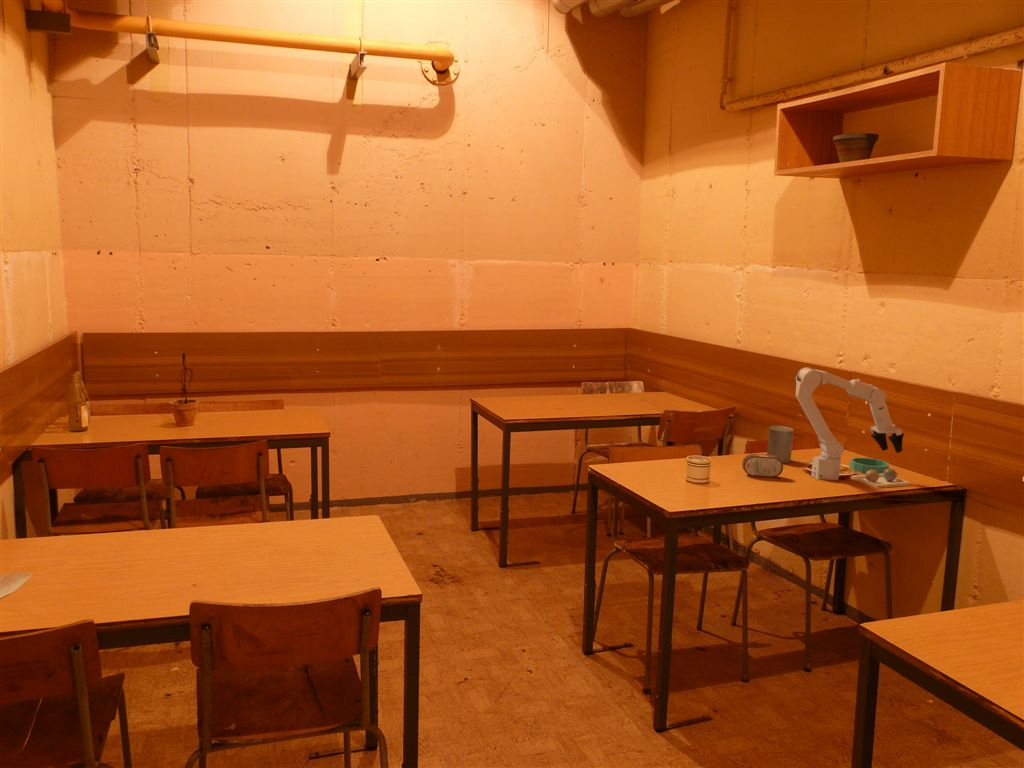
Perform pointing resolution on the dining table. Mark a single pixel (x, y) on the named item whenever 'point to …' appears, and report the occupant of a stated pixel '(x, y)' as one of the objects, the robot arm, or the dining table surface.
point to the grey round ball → (889, 474)
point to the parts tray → (881, 481)
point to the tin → (762, 465)
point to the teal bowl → (868, 465)
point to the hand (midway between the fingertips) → (892, 450)
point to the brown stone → (872, 476)
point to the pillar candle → (780, 442)
